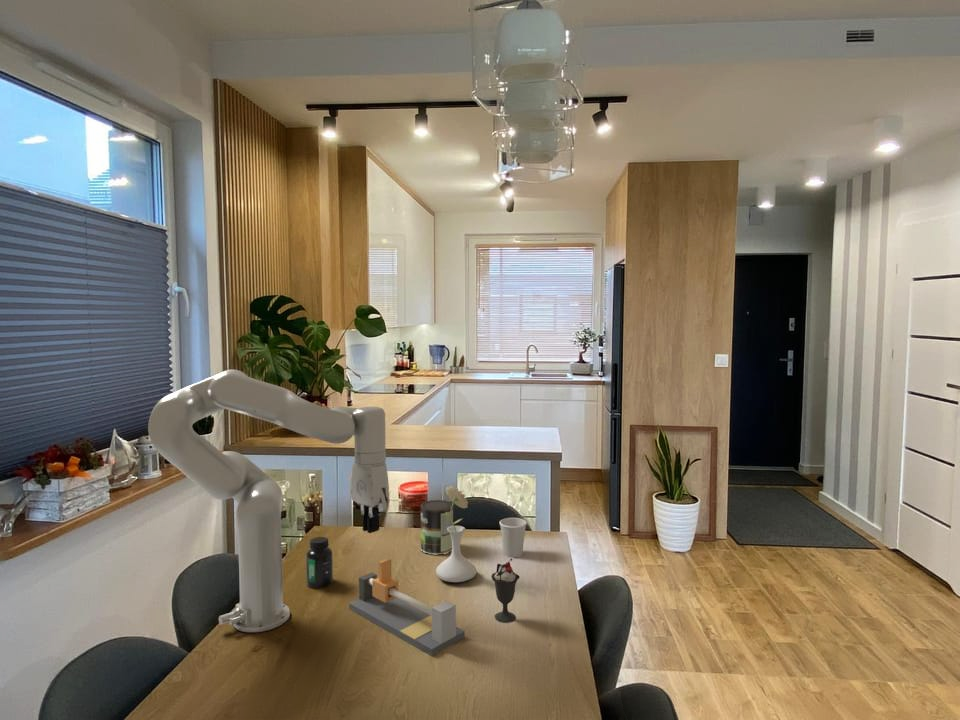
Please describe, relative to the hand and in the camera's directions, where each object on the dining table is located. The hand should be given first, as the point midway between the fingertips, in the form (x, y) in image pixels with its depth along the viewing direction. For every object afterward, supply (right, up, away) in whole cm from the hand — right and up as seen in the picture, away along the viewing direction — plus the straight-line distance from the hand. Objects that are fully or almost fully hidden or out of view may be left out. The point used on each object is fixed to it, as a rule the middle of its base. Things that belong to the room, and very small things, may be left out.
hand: (371, 530), depth 143 cm
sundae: (+33, -20, -5) cm, 39 cm away
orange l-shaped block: (+4, -15, -3) cm, 16 cm away
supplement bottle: (-16, -19, +14) cm, 28 cm away
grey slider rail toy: (+9, -20, -7) cm, 23 cm away
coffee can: (+14, -17, +37) cm, 43 cm away
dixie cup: (+37, -17, +34) cm, 53 cm away
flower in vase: (+20, -18, +18) cm, 33 cm away
